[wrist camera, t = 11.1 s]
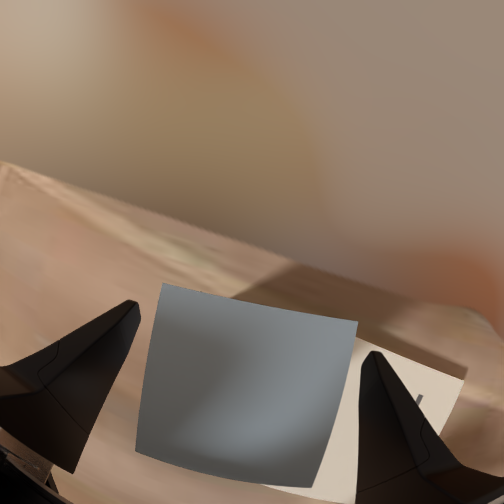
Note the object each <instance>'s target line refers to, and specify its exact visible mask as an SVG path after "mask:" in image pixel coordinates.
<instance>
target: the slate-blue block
mask: <svg viewBox="0 0 504 504" xmlns="http://www.w3.org/2000/svg"><path fill="white" fill-rule="evenodd" d="M357 326H358V321H351V320H345V319H338V318H332V317H326V316H320V315H314V314H308V313H302V312H297V311H291V310H286V309H280V308H275V307H270V306H265V305H260V304H255V303H250V302H245V301H240V300H235V299H231V298H226V297H221V296H217V295H212V294H208V293H203V292H199V291H195V290H190V289H186V288H182V287H178V286H173V285H169V284H165V283H162V288H161V292H160V297H159V301H158V306H157V310H156V315H155V320H154V325H153V330H152V335H151V340H150V345H149V351H148V357H147V363H146V369H145V375H144V381H143V388H142V395H141V402H140V410H139V418H138V427H137V437H136V448H135V451H136V452H138V453H141V454H144V455H146V456H149V457H152V458H154V459H157V460H160V461H163V462H166V463H169V464H172V465H176V466H179V467H182V468H186V469H189V470H193V471H197V472H201V473H205V474H209V475H213V476H218V477H222V478H227V479H232V480H238V481H244V482H250V483H257V484H265V485H274V486H284V487H299V488H312V486H313V483H314V481H315V478H316V476H317V473H318V470H319V468H320V465H321V462H322V459H323V457H324V454H325V451H326V448H327V445H328V442H329V439H330V436H331V433H332V429H333V426H334V423H335V419H336V416H337V413H338V409H339V405H340V402H341V398H342V394H343V390H344V386H345V382H346V378H347V374H348V370H349V365H350V361H351V356H352V352H353V347H354V342H355V336H356V331H357Z"/></svg>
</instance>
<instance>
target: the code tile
mask: <svg viewBox="0 0 504 504" xmlns="http://www.w3.org/2000/svg"><path fill="white" fill-rule="evenodd" d="M370 351H380V352H382V354H383V355H384V356H385V358H386V359H387V361H388V362H389V363H390V365H391V366H392V368H393V369H394V371H395V372H396V373H397V375H398V376H399V378H400V379H401V381H402V382H403V384H404V385H405V387H406V388H407V390H408V391H409V393H410V394H411V396H412V397H413V398H414V400H415V401H416V403H417V405H418V406H419V408H420V409H421V411H422V412H423V414H424V415H425V417H426V418H427V420H428V421H429V423H430V424H431V426H432V427H433V429H434V430H435V432H436V433H437V434H438V436H439V434H440V432H441V430H442V428H443V427H444V425H445V423H446V421H447V419H448V417H449V415H450V413H451V411H452V409H453V406H454V404H455V402H456V400H457V398H458V395H459V393H460V391H461V388H462V386H463V383H464V381H463V380H460V379H458V378H455V377H453V376H450V375H447V374H445V373H442V372H440V371H437V370H435V369H432V368H430V367H427V366H424V365H422V364H420V363H417V362H415V361H412V360H410V359H407V358H405V357H402V356H400V355H398V354H395V353H393V352H390V351H388V350H386V349H383V348H381V347H378V346H376V345H374V344H371V343H369V342H367V341H364V340H362V339H360V338H358V337H355V342H354V347H353V352H352V356H351V361H350V365H349V370H348V374H347V378H346V382H345V386H344V390H343V394H342V398H341V402H340V405H339V409H338V413H337V416H336V419H335V423H334V426H333V429H332V433H331V436H330V439H329V442H328V445H327V448H326V451H325V454H324V457H323V459H322V462H321V465H320V468H319V470H318V473H317V476H316V478H315V481H314V483H313V486H312V488H299V487H284V486H274V485H265V484H261V485H265V486H268V487H271V488H275V489H278V490H282V491H285V492H289V493H293V494H297V495H301V496H306V497H310V498H315V499H320V500H325V501H331V502H337V503H344V504H355V496H356V485H357V468H358V435H359V417H358V400H359V388H360V374H361V365H362V363H363V361H364V360H365V358H366V357H367V355H368V354H369V352H370Z"/></svg>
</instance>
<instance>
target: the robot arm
mask: <svg viewBox="0 0 504 504" xmlns="http://www.w3.org/2000/svg"><path fill="white" fill-rule="evenodd" d="M140 321H141V314H140V309H139V304H138V302H136V301H132V300H126V301H125V302H123V303H121V304H119V305H118V306H116V307H114V308H112V309H111V310H109V311H107V312H105V313H104V314H102V315H100V316H99V317H97V318H95V319H93V320H92V321H90V322H88V323H87V324H85V325H83V326H81V327H80V328H78V329H76V330H75V331H73V332H71V333H70V334H68V335H66V336H65V337H63V338H61V339H60V340H58V341H56V342H54V343H53V344H51V345H49V346H47V347H46V348H44V349H42V350H40V351H38V352H36V353H34V354H32V355H30V356H28V357H26V358H24V359H21V360H19V361H17V362H15V363H13V364H11V365H7V366H1V367H0V504H73V503H72V502H70V501H68V500H67V499H65V498H64V497H62V496H60V495H59V494H58V493H59V492H58V490H57V487H56V485H55V482H54V480H53V477H52V474H51V469H52V467H53V465H54V464H55V465H57V466H58V467H60V468H62V469H64V470H65V471H67V472H69V473H71V474H73V473H74V471H75V469H76V466H77V464H78V461H79V459H80V456H81V454H82V452H83V449H84V447H85V444H86V442H87V440H88V437H89V435H90V433H91V430H92V428H93V426H94V423H95V421H96V419H97V417H98V415H99V412H100V410H101V408H102V406H103V404H104V402H105V400H106V397H107V395H108V393H109V391H110V389H111V387H112V385H113V383H114V381H115V379H116V377H117V375H118V373H119V371H120V369H121V367H122V365H123V363H124V361H125V359H126V357H127V355H128V352H129V350H130V347H131V345H132V342H133V339H134V337H135V334H136V332H137V329H138V327H139V324H140ZM358 417H359V435H358V468H357V485H356V496H355V504H504V477H497V476H493V475H490V474H487V473H484V472H481V471H477V470H474V469H471V468H469V467H466V466H464V465H462V464H461V463H460V462H459V461H458V460H457V459H456V458H455V457H454V455H453V454H452V453H451V451H450V450H449V449H448V448H447V446H446V445H445V444H444V442H443V441H442V440H441V438H440V437H439V436H438V434H437V433H436V432H435V430H434V429H433V427H432V426H431V424H430V423H429V421H428V420H427V418H426V417H425V415H424V414H423V412H422V411H421V409H420V408H419V406H418V405H417V403H416V401H415V400H414V398H413V397H412V396H411V394H410V393H409V391H408V390H407V388H406V387H405V385H404V384H403V382H402V381H401V379H400V378H399V376H398V375H397V373H396V372H395V371H394V369H393V368H392V366H391V365H390V363H389V362H388V361H387V359H386V358H385V356H384V355H383V354H382V352H380V351H370V352H369V354H368V355H367V357H366V358H365V360H364V361H363V363H362V365H361V374H360V388H359V400H358Z"/></svg>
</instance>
